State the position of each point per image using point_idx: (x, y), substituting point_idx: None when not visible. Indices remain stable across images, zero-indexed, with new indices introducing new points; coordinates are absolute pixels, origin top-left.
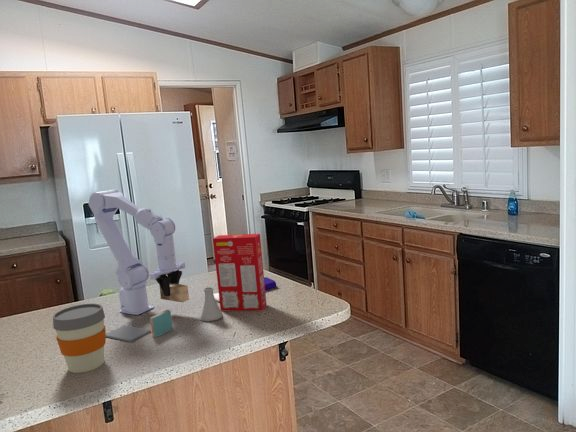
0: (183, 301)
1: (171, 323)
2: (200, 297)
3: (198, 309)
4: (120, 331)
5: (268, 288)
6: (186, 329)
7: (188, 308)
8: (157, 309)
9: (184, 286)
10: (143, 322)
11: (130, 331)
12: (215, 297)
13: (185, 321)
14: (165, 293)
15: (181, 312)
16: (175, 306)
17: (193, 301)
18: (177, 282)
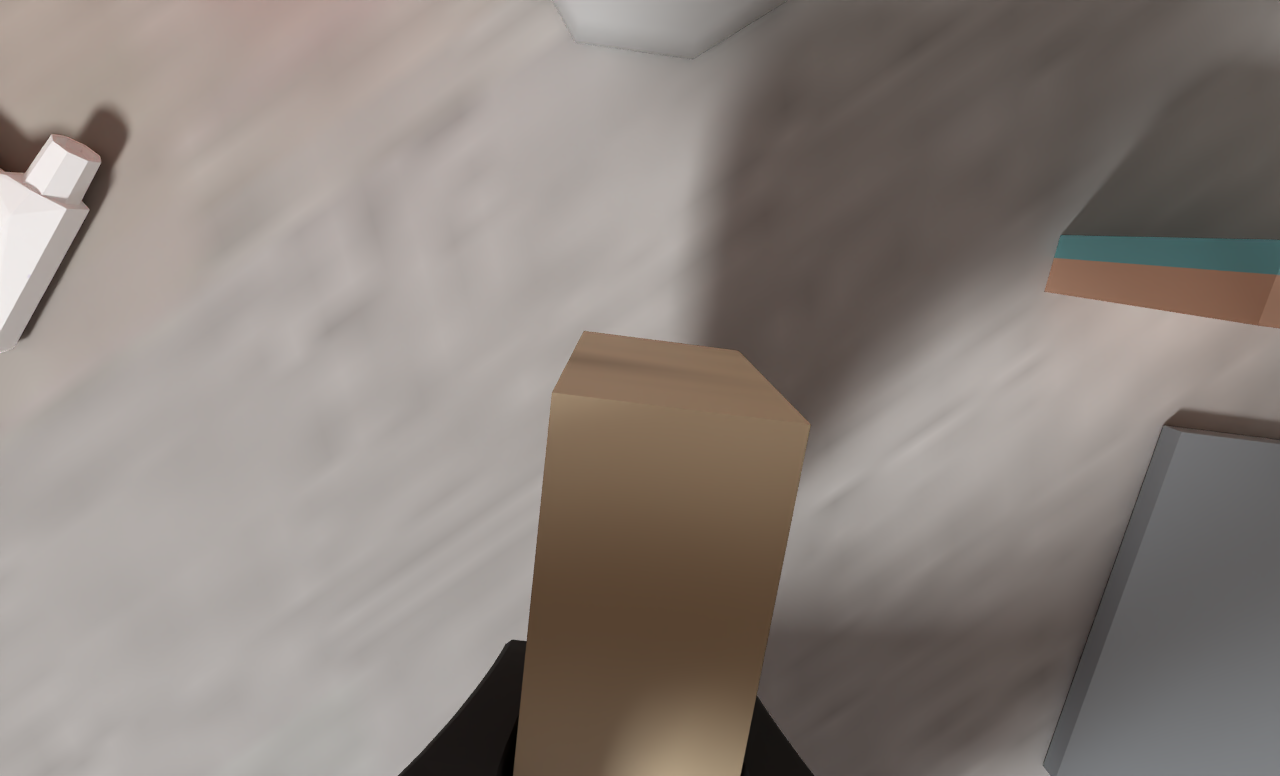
0: (721, 351)
1: (1115, 238)
2: (59, 524)
3: (437, 290)
4: (1214, 710)
5: None
6: (1085, 23)
7: (441, 442)
8: None
9: (666, 419)
10: (917, 669)
11: (1216, 617)
12: (28, 244)
13: (839, 209)
14: None
15: None
16: (427, 633)
17: (214, 526)
18: (473, 774)
